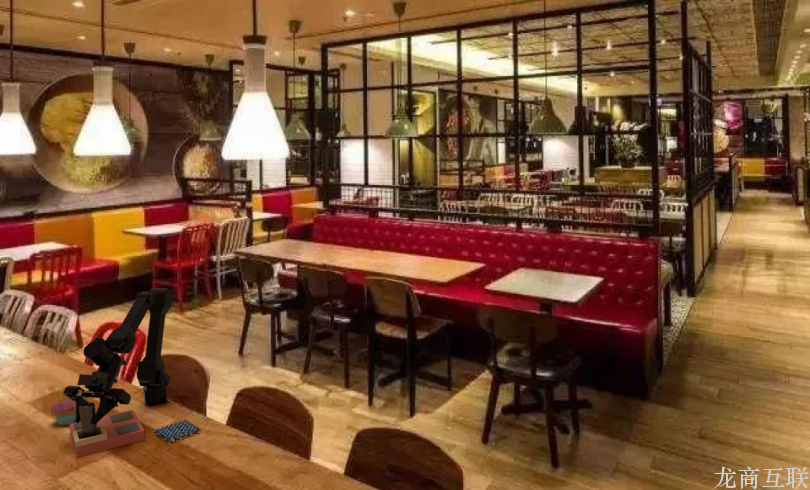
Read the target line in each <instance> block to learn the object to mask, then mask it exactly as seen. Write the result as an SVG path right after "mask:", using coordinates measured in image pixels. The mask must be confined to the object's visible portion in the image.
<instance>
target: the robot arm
mask: <svg viewBox="0 0 810 490" xmlns="http://www.w3.org/2000/svg"><path fill="white" fill-rule="evenodd" d="M174 297H175V296H174V293H173V292H172V290H171V288H158V287H157V288H155V287H153V288H150V289H149V290H148V291H142V292H139V293H137V294H136V296H135V300H134V302H132V303H133V304H132V306H131V307H130V308H129V310H128V312H127V314H126V316H125V317H124V319H123V320H122V322H121V324H120V325H119V326H118V327H116V328H115V329H113V330H112V331H111V333H110V334H109V335H108V336H107V338H106V339H104V338H103V337H100V336H99V337H97V336H96V337H95V338H94V340H93V341H91V342H89V343H88V344H86V346H85V347H84V349H83V350H82V353H83V356H84V357H85V358H87V359H88V360H89V361H90V362H91V363H92V364H94V365H96V366H97V367H98V368H97V370H96V371H93V372H92V373H91V374H84V373H83V374H82V373H80V374H79V375H78V379H77V380H78V381H77V385H68V386H65V389H64V390H63V392H62V395H64V396H66V397H67V399H71V400H73V401H75V402H76V420H75V422H74V423H79V422H81V420H80V410H79V406H80V405H81V404H84V403H89V402H90V401H88V399H90V398H91V399H99V405H98V408H97V409H96V414H95V417H94V419H93V424H97V423H98V422H99V421H100V420H101V419H102V418H103V417H104V416H107V414H108V413H109V412H111V411H112V410H113V409H115V408H116V407H117V408H118V407H119V404H120V405H125V406H129V405H130V403H131V400H132V396H131V394H130V393H129V392H127V391H126V390H125V389H124V388H116V387H115V388H114V387H113V386H114V384H117V383H118V379H117V377H118V374H119V372H120V369H121V366H126V365H127V362H126V360H125V356H121V355H120V354H123V355H125V354H130V353H131V352H132V350H133V349H134V346H135V344H136V342H137V336H136V333H137V330H138V329H139V327H140V325H141V324H142V322H143V320H144V318H145V316H146V314H147V313H148V312H149V320H148V328H147V329H148V330H147V336H146V338H147V339H146V344H145V346H146V347H145V355H144V357H143V358H142V360H140V361H138V362H137V370H136V372H135V374H136V379H137V381H138V383H139V386H140V387H144V389H143V392H142V393H143V402H144V404H146V406H147V407H154V406H157V405H159V406H160V405H163V404H168V403H169V400H168V397H167V387H168V386H169V384H170V383H171V376H170V375H169V374H168V373H167V372H166V371H165V369H166V366H165V363H164V361H163V358H162V349H163V341H164V340H163V339H164V331H165V325H166V324H165V323H166V315H167V314H168V312H169V311H170V310H171V308H172V306H173V301H174ZM81 386H84V388H85V389H86V390H85V389H84V388H83V387H81Z"/></svg>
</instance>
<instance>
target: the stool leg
mask: <svg viewBox="0 0 810 490" xmlns="http://www.w3.org/2000/svg"><path fill="white" fill-rule="evenodd" d="M88 402H89V403H84V404H81V405H80V406H79V410H80V420H81V421H80V422H81V431H82V439H84V438H88V437H92V436H96V435H98V432H97V424H93V419H94V417H95V414H96V412H97V410H96V404H95V402H91V401H88Z"/></svg>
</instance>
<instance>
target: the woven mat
mask: <svg viewBox="0 0 810 490" xmlns="http://www.w3.org/2000/svg"><path fill="white" fill-rule="evenodd" d="M153 433H154V434H155V436H156V437H158V438H160V439H162V441H163V442H166V443H167V444H169V445H171V444H172V443H175V442H179V441H181V440H184V439H186V438H190V437H193V436H196V435H197V434H200V433H201V428H200V426H197V425H196V424H195V423H192V422H190V420H187V419H183V420H180V421H178V422H174V423H171V424H168V425H165V426H161V427H160V428H156V429H155V430H154V432H153Z"/></svg>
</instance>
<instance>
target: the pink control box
mask: <svg viewBox="0 0 810 490" xmlns="http://www.w3.org/2000/svg"><path fill="white" fill-rule="evenodd" d="M69 430H70V431H69V432H70V436H71V439H72V440H71V441H72V443H73V448H74V452H75V455H76V457H77V458H78V457H82V456H86V455H90V454H95V453H98V452H103V451H106V450H110V449H114V448H119V447H122V446H126V445H130V444H134V443H138V442H142V441H146V435H145V434H146V433H145V429H144V426H143V425H142V423H141V422H140V420H139V418H138V416H137V414H136V413H135V410H134V409H132V410H126V411H122V412H118V413H113V414H108V415H105V416H104V417H103V418H102V419H101V420H100V421H99V422H98V423H97V432H98V435H96V436H92V437H88V438H84V439H82V431H81V421H80V422H79V423H76V422H73V423H71V424H69Z"/></svg>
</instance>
